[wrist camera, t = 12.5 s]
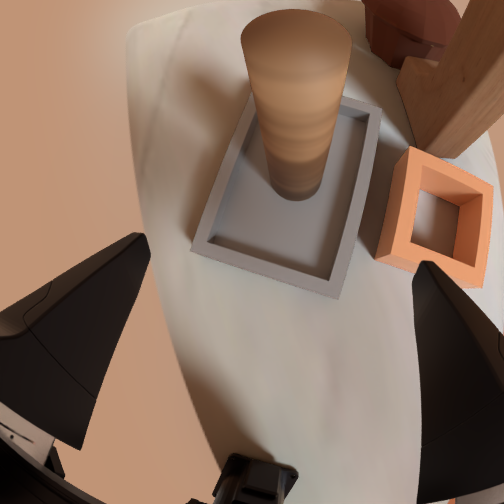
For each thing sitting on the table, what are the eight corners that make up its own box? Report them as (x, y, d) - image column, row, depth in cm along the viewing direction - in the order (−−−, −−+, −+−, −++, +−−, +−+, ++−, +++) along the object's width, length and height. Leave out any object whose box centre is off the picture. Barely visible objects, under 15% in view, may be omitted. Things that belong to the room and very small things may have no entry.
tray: (333, 298, 21) (338, 299, 19) (200, 254, 23) (189, 250, 21) (375, 123, 22) (382, 108, 20) (261, 93, 24) (258, 77, 22)
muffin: (427, 31, 23) (447, -21, 13) (458, 91, 21) (495, 37, 12) (344, 17, 24) (349, -44, 15) (364, 75, 23) (382, 2, 13)
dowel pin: (325, 198, 21) (367, 68, 7) (273, 204, 22) (245, 77, 8) (316, 152, 22) (334, 8, 8) (267, 157, 22) (236, 15, 8)
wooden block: (393, 82, 22) (442, -59, 5) (429, 86, 22) (491, -37, 4) (418, 158, 21) (526, 17, 4) (455, 160, 21) (568, 47, 3)
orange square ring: (456, 288, 20) (482, 288, 16) (374, 259, 21) (390, 254, 17) (470, 199, 20) (493, 186, 16) (394, 166, 22) (409, 145, 18)
